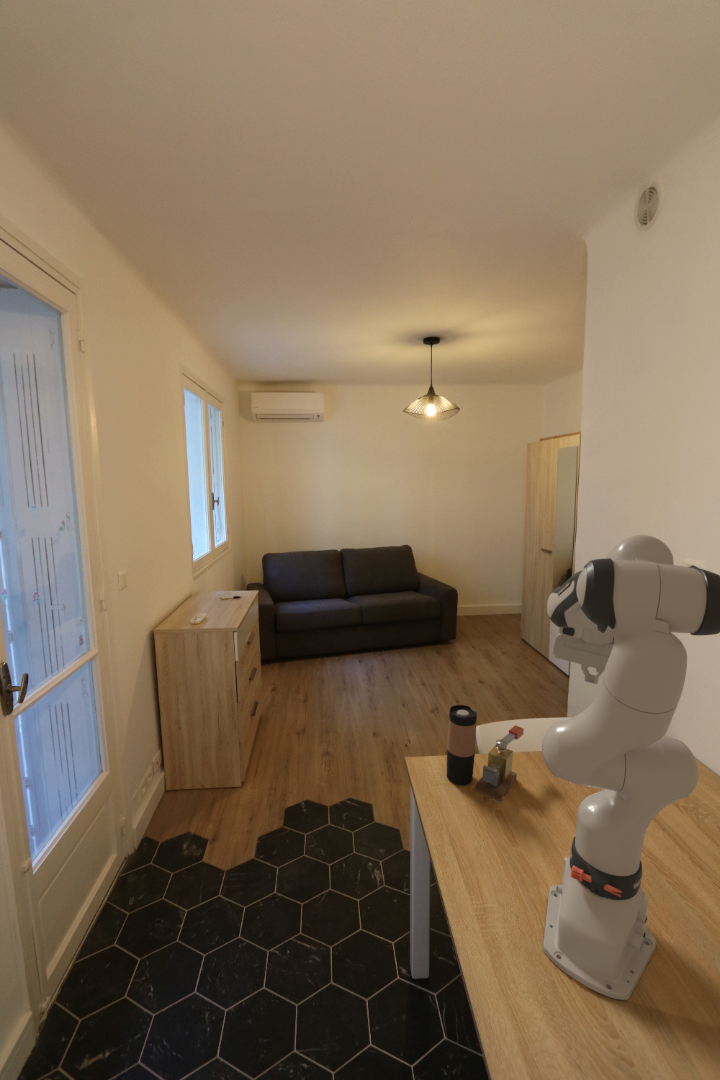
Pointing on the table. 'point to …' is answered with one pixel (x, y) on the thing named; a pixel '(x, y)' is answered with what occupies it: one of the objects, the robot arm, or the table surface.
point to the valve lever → (510, 737)
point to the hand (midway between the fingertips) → (591, 682)
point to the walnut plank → (493, 791)
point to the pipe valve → (498, 767)
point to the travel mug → (461, 744)
